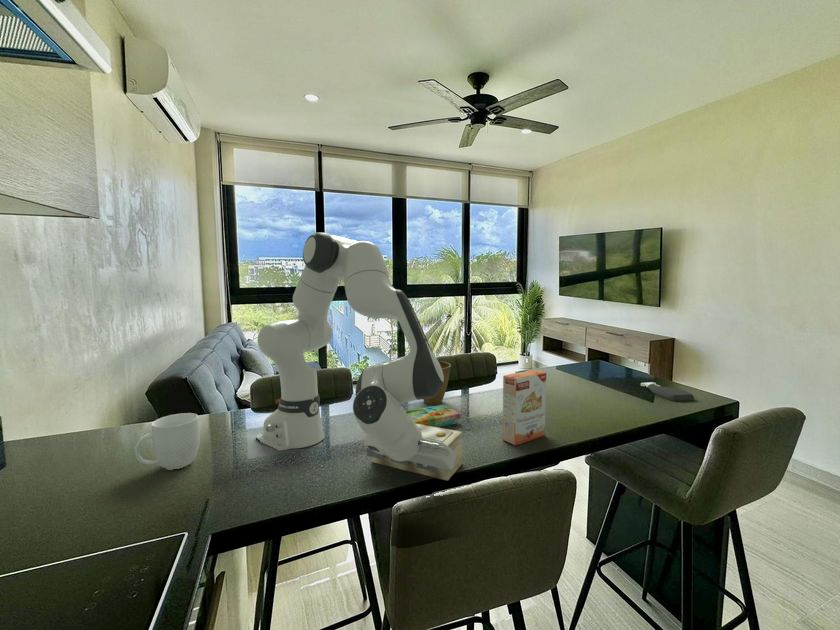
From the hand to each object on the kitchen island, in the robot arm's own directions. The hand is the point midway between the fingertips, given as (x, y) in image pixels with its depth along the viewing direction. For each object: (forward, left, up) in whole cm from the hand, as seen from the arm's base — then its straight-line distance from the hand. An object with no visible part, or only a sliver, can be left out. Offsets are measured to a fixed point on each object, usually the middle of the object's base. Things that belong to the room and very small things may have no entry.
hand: (422, 462), depth 91 cm
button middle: (-8, +3, -3) cm, 8 cm away
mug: (-68, -20, -7) cm, 71 cm away
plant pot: (-27, +61, -7) cm, 67 cm away
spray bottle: (+59, +116, -7) cm, 130 cm away
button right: (0, +3, -3) cm, 4 cm away
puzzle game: (-18, +39, -7) cm, 44 cm away
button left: (-15, +3, -3) cm, 15 cm away
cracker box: (+15, +40, -7) cm, 44 cm away
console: (-8, +11, -7) cm, 15 cm away
